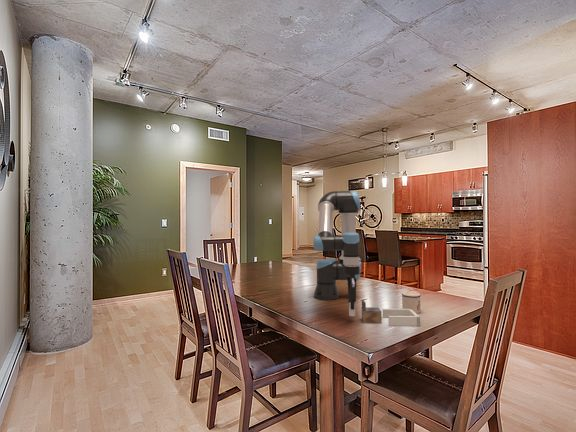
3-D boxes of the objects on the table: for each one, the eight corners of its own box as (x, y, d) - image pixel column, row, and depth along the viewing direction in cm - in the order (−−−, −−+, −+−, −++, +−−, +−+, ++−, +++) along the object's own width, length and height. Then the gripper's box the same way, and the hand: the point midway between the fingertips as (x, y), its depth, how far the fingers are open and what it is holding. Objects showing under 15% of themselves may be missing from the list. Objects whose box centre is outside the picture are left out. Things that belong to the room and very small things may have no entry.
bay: (389, 325, 139) (389, 316, 139) (382, 316, 151) (382, 308, 151) (420, 326, 138) (420, 317, 138) (411, 317, 150) (410, 308, 150)
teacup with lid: (421, 314, 154) (421, 291, 154) (402, 313, 157) (401, 290, 157) (419, 308, 165) (419, 286, 165) (401, 306, 168) (401, 285, 168)
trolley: (363, 323, 143) (363, 303, 143) (361, 319, 149) (361, 299, 149) (381, 323, 142) (381, 303, 142) (378, 319, 148) (378, 300, 148)
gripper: (361, 267, 139) (362, 320, 139) (357, 263, 152) (358, 311, 152) (345, 267, 140) (345, 320, 140) (342, 263, 153) (342, 311, 153)
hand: (352, 315), depth 146 cm, fingers closed
